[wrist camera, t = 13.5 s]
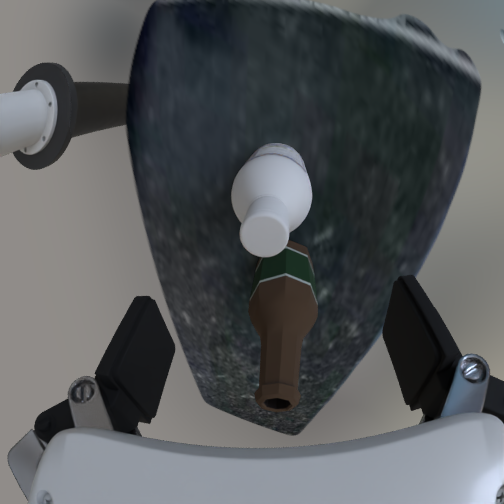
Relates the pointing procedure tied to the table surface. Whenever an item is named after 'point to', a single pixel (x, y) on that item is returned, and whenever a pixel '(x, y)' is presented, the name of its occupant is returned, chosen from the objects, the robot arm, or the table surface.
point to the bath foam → (271, 198)
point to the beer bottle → (282, 322)
